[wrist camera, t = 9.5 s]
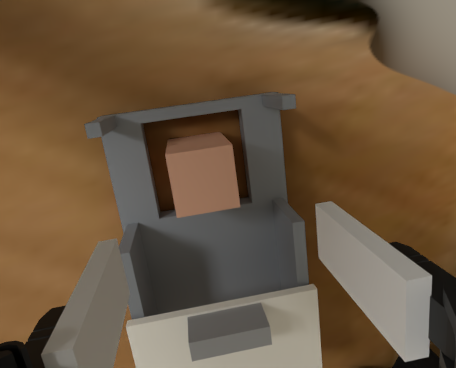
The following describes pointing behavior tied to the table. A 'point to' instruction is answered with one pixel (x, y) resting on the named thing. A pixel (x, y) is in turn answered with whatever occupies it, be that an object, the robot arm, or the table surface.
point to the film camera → (419, 362)
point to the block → (202, 174)
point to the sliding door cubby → (205, 215)
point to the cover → (233, 333)
